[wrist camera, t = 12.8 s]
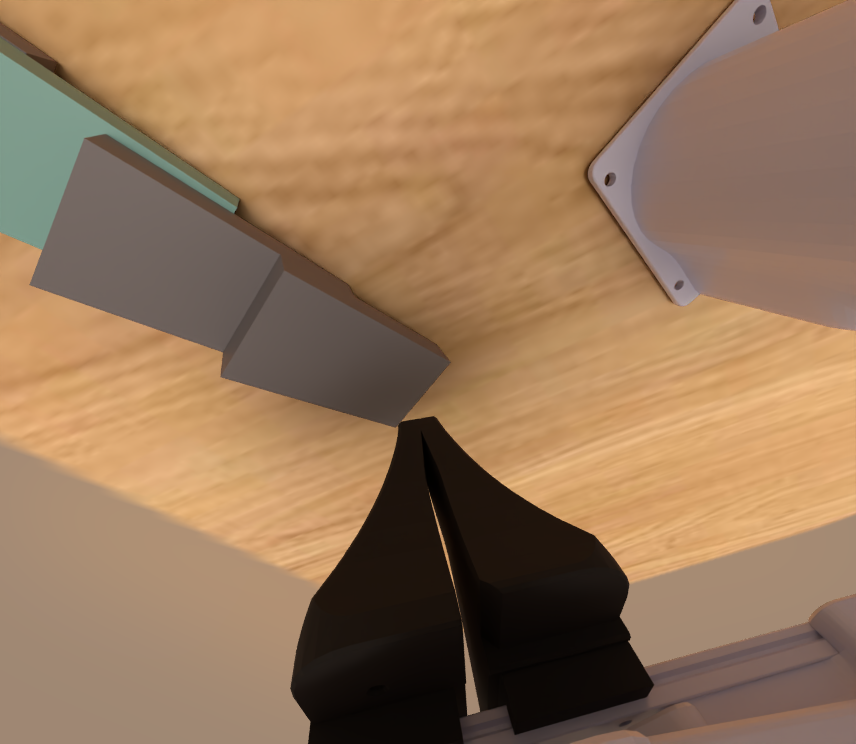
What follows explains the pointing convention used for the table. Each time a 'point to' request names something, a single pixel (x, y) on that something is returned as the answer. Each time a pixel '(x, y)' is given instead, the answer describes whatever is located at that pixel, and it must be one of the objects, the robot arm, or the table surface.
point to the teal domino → (61, 146)
